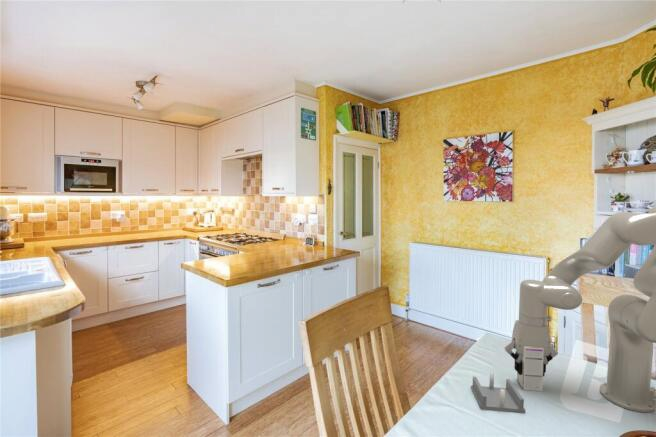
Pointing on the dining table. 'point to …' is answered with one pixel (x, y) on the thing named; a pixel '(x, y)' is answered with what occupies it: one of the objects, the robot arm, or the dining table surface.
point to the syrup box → (532, 368)
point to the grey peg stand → (498, 396)
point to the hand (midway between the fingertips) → (529, 372)
